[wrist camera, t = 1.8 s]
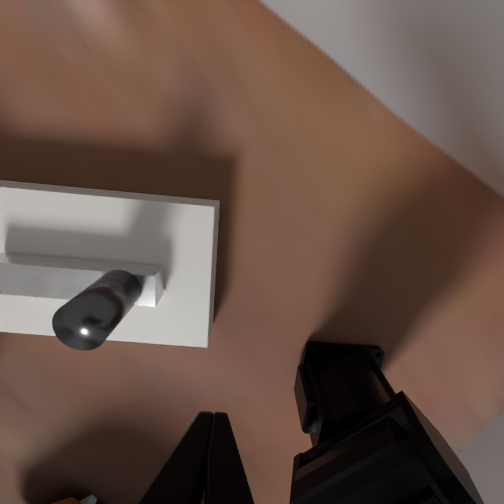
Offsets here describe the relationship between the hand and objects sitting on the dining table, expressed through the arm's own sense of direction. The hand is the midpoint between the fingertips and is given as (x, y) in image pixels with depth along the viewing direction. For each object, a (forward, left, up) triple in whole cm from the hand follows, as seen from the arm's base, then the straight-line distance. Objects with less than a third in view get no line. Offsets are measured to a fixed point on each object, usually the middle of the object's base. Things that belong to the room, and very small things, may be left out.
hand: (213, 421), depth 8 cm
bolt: (+9, 0, -10) cm, 14 cm away
